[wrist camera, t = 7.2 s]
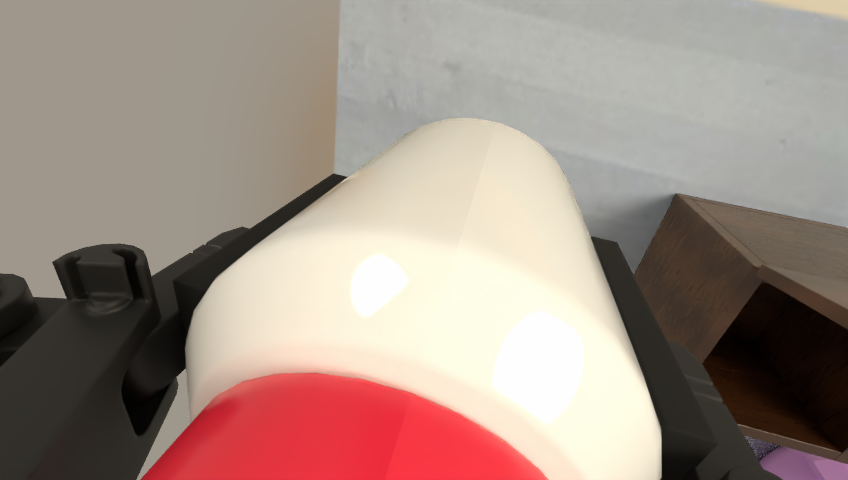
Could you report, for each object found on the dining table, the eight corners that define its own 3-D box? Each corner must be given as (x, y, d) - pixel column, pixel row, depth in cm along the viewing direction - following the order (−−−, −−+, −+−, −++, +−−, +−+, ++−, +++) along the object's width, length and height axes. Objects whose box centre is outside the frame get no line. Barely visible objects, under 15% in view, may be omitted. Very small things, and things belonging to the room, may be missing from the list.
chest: (752, 343, 39) (848, 464, 27) (615, 309, 40) (652, 410, 29) (846, 227, 32) (1023, 325, 21) (676, 193, 34) (754, 265, 22)
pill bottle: (351, 279, 16) (83, 645, 6) (379, 89, 12) (-232, 258, 2) (529, 338, 15) (547, 859, 5) (621, 156, 11) (1288, 846, 1)
